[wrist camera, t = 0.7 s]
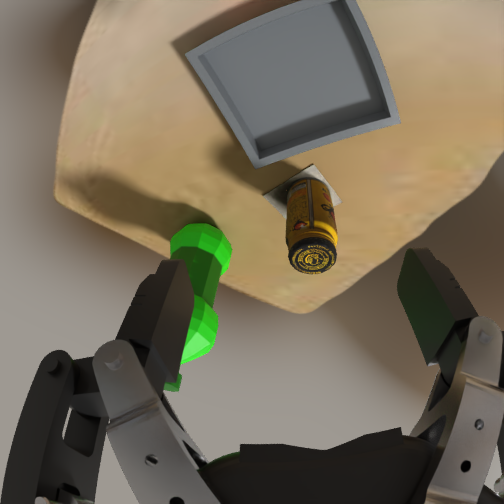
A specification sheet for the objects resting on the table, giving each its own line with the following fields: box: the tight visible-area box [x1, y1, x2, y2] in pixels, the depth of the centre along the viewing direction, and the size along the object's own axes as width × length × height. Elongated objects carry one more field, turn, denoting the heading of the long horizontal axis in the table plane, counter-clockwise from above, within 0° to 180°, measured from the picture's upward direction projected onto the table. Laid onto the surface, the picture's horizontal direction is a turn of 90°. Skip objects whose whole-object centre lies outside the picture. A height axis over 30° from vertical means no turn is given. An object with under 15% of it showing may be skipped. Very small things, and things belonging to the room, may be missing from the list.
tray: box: [185, 0, 401, 169], centre depth 25 cm, size 16×18×3 cm
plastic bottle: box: [164, 223, 232, 392], centre depth 37 cm, size 10×10×25 cm
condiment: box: [263, 165, 342, 274], centre depth 34 cm, size 7×8×12 cm
